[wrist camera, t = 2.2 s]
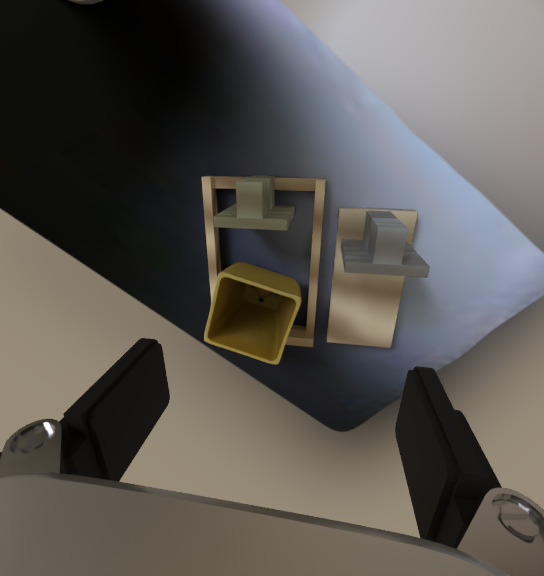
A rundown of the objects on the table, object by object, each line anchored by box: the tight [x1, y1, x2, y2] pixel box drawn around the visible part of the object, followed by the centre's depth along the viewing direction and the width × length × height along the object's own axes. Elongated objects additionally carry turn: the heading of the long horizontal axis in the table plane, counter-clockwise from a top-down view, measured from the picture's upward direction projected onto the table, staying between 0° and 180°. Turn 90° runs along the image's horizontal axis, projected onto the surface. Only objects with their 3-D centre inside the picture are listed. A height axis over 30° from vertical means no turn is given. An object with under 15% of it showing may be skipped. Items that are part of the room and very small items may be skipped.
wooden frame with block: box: [201, 175, 326, 347], centre depth 35 cm, size 20×14×8 cm
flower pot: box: [204, 262, 302, 364], centre depth 36 cm, size 9×9×9 cm
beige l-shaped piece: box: [327, 207, 430, 348], centre depth 33 cm, size 17×8×10 cm, turn 179°
